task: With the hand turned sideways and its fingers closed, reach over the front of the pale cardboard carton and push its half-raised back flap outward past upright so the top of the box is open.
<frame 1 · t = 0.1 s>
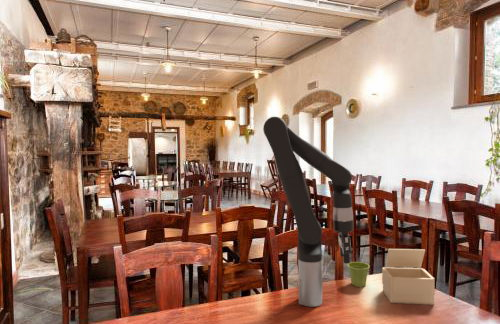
hand: (344, 259, 135), 17 cm above the table, tool pointing down, fingers open, 8 cm apart
carton: (407, 297, 140), on the table
back flap: (404, 258, 142), point 15 cm above the table, hinge at -30.0°
plant pot: (358, 284, 154), on the table
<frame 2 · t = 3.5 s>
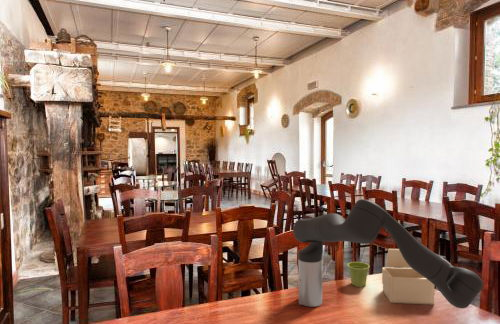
hand: (417, 252, 128), 22 cm above the table, tool horizontal, fingers closed
nothing on the table moved.
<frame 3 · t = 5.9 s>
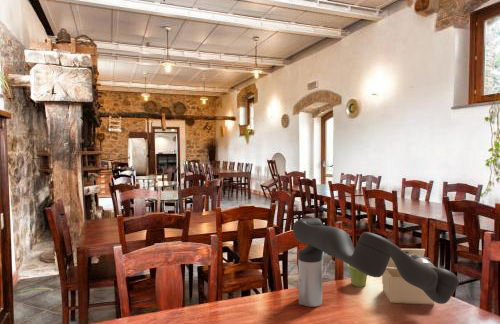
hand: (405, 254, 141), 17 cm above the table, tool horizontal, fingers closed
back flap: (404, 257, 142), point 15 cm above the table, hinge at -29.0°, touching gripper
everything else where it was.
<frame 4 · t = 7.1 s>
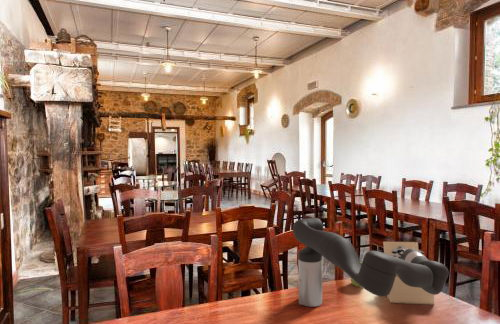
hand: (401, 248, 147), 18 cm above the table, tool horizontal, fingers closed
back flap: (401, 254, 147), point 15 cm above the table, hinge at 20.3°, touching gripper
everything else where it was.
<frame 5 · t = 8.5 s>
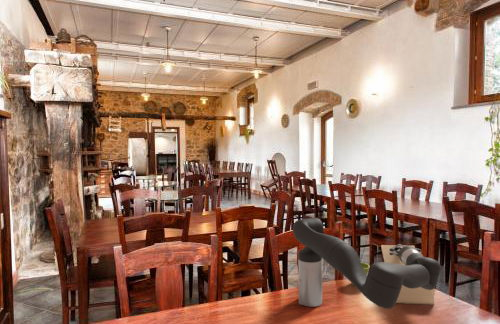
hand: (398, 246, 151), 17 cm above the table, tool horizontal, fingers closed
back flap: (400, 255, 149), point 14 cm above the table, hinge at 47.4°, touching gripper
everything else where it was.
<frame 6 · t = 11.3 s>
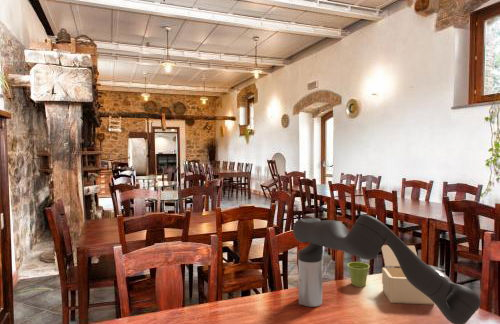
hand: (417, 264, 128), 17 cm above the table, tool horizontal, fingers closed
back flap: (400, 255, 149), point 14 cm above the table, hinge at 47.5°
everything else where it was.
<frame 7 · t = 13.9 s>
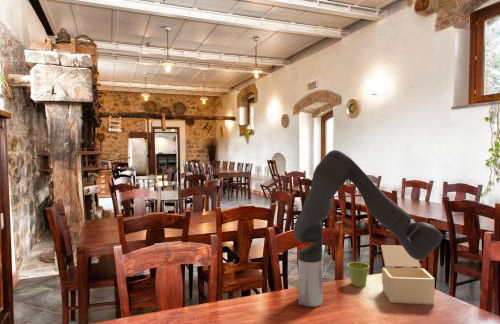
hand: (389, 218, 131), 34 cm above the table, tool horizontal, fingers closed
nothing on the table moved.
at the end: back flap at +48° (first picture: -30°); plant pot moved 0.2 cm from its start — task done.
